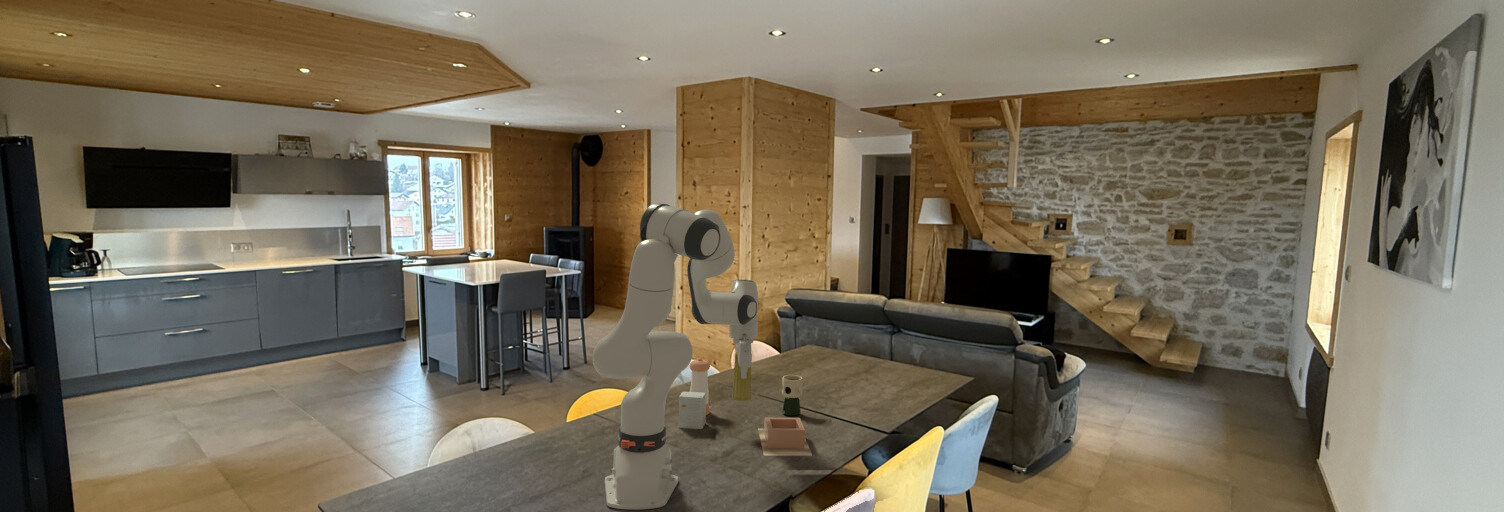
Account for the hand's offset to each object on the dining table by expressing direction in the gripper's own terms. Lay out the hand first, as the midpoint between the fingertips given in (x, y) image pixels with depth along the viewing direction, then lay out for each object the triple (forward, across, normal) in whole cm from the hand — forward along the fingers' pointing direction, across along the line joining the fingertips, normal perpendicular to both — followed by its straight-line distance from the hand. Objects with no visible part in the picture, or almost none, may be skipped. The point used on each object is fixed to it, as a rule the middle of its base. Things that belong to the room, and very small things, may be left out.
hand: (742, 375), depth 202 cm
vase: (+7, 0, 0) cm, 7 cm away
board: (+19, -7, -12) cm, 24 cm away
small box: (+19, +9, +16) cm, 26 cm away
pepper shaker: (+18, +22, +13) cm, 32 cm away
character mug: (+19, +20, -19) cm, 33 cm away
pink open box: (+18, -8, -12) cm, 23 cm away
